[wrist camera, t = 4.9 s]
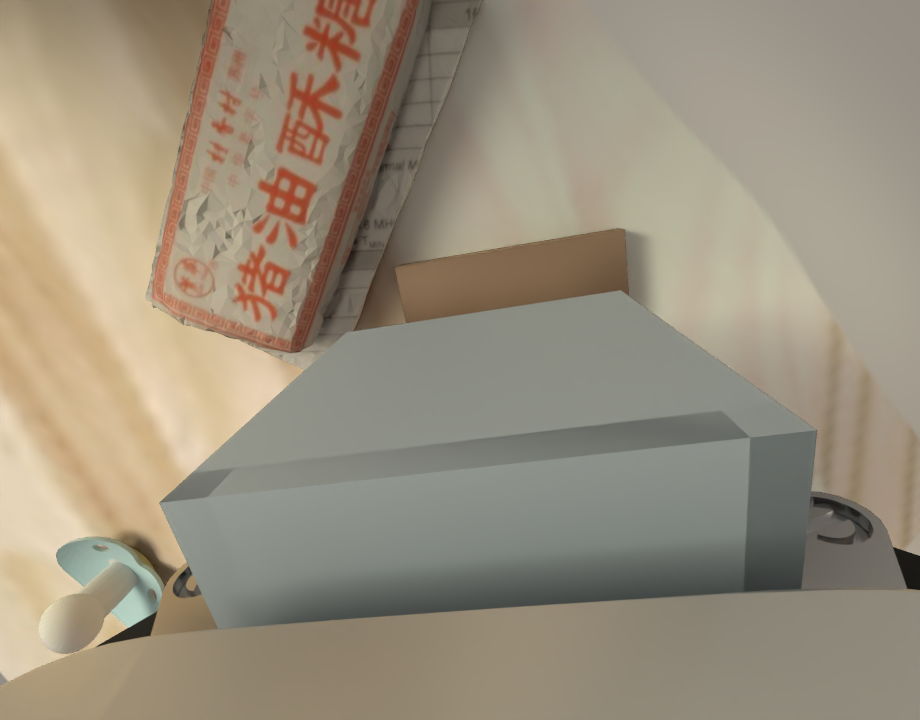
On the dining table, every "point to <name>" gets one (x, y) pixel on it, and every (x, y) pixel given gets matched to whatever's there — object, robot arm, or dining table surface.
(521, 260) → the board
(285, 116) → the packaged product
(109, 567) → the pacifier
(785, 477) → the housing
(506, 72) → the dining table surface
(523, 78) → the dining table surface
